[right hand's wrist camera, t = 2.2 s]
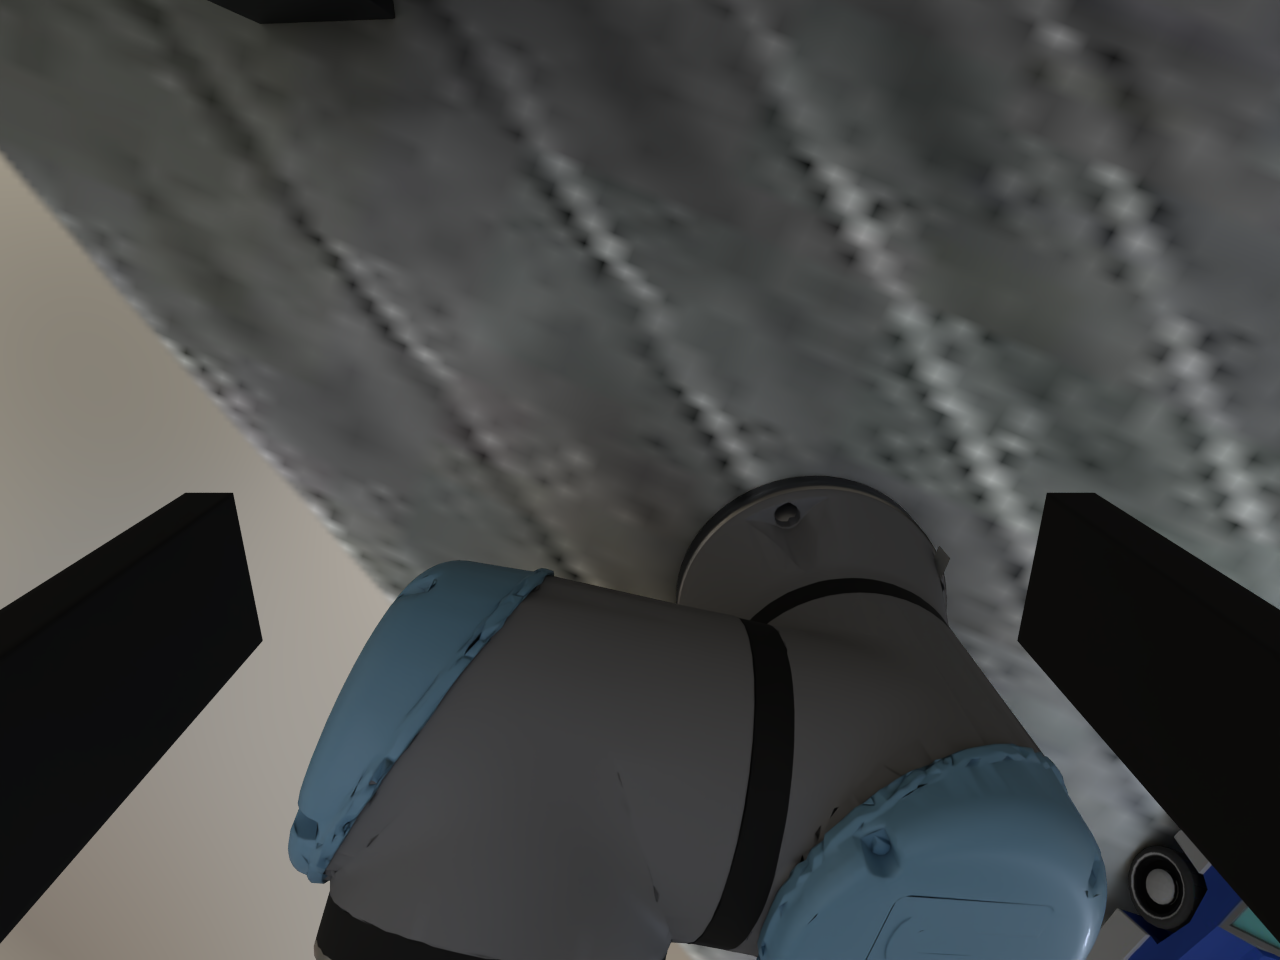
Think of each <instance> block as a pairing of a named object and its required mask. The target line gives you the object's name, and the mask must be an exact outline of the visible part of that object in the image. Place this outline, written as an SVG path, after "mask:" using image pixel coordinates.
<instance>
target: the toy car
mask: <svg viewBox="0 0 1280 960" xmlns="http://www.w3.org/2000/svg"><path fill="white" fill-rule="evenodd" d="M1174 838H1175V839H1176V840H1177V842H1178V843H1179V845H1180V846H1181V848H1182V849H1183V851H1184V852H1185V854H1184V853H1181V852H1178V851H1175V850H1172V849H1169V848H1166V847H1161V846H1152V847H1149V848H1146V849H1144V850H1143V851H1141V852H1140V853H1139V854H1138V855H1137V856H1136V857H1135V859H1134V861H1133V862H1132V864H1131V868H1130V871H1129V891H1130V895H1131V899H1132V902H1133V903H1134V905H1135V907H1136V909H1137V911H1138V912H1139V914H1140V915H1141V916H1140V915H1137V914H1134V913H1131V912H1128V911H1125V910H1122V909H1118V908H1117V909H1116V910H1115V912H1114V913H1113V914H1112V915H1111V917H1110V918H1109V919H1108V920H1107V922H1106V923H1105V924H1104V925H1103V927H1102V928H1101V929H1100V932H1099V934H1098V937H1097V939H1096V941H1095V943H1094V945H1093V947H1092V949H1091V951H1090V953H1089V955H1088V956H1087V958H1086V960H1280V943H1279V942H1278V941H1277V940H1276V938H1275V937H1274V936H1273V935H1272V934H1271V933H1270V932H1269V930H1268V929H1267V928H1266V927H1265V926H1264V925H1263V924H1262V922H1261V921H1260V920H1259V919H1258V918H1257V917H1256V915H1255V914H1254V913H1253V912H1252V911H1251V910H1250V909H1249V907H1248V906H1247V905H1246V904H1245V903H1244V902H1243V900H1242V899H1241V898H1240V897H1239V896H1238V895H1237V894H1236V892H1235V891H1234V890H1233V889H1232V888H1231V887H1230V885H1229V884H1228V883H1227V882H1226V881H1225V880H1224V879H1223V877H1222V876H1221V875H1220V874H1219V873H1218V872H1217V870H1216V869H1215V868H1214V867H1213V866H1212V865H1211V864H1210V862H1209V861H1208V860H1207V859H1206V858H1205V857H1204V855H1203V854H1202V853H1201V852H1200V851H1199V850H1198V849H1197V847H1196V846H1195V845H1194V844H1193V843H1192V842H1191V840H1190V839H1189V838H1188V837H1187V836H1186V835H1185V834H1184V832H1183V831H1182V830H1181V829H1180V831H1179V832H1178V833H1177V834H1176V835H1175V836H1174Z"/></svg>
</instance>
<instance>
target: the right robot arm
mask: <svg viewBox="0 0 1280 960" xmlns="http://www.w3.org/2000/svg"><path fill="white" fill-rule="evenodd" d="M949 559H950V558H949V557H948V556H947V554H946V553H945V552H944V551H943V550H942V548H941V547H940V546H939V547H938V550H937V552H936V551H935V549H934V547H933V545H932V543H931V542H930V540H929V539H928V537H927V536H926V534H925V533H924V532H923V531H922V530H921V528H920V527H919V526H918V525H917V524H916V522H915V521H914V520H913V519H912V518H911V517H910V515H909V514H908V513H907V512H906V511H905V510H904V509H903V508H902V507H901V506H899V505H898V504H897V503H896V502H894V501H893V500H892V499H890V498H889V497H887V496H886V495H884V494H882V493H881V492H879V491H877V490H875V489H873V488H871V487H868V486H866V485H863V484H860V483H857V482H854V481H850V480H846V479H842V478H835V477H826V476H805V477H796V478H788V479H784V480H780V481H775V482H772V483H769V484H766V485H763V486H761V487H758V488H756V489H754V490H751V491H749V492H747V493H745V494H743V495H742V496H740V497H738V498H736V499H735V500H733V501H732V502H730V503H729V504H727V505H726V506H725V507H724V508H722V509H721V510H720V511H719V512H717V513H716V514H715V515H714V516H713V517H712V518H711V519H710V520H709V521H708V522H707V523H706V525H705V526H704V527H703V528H702V529H701V530H700V532H699V533H698V535H697V536H696V537H695V539H694V540H693V542H692V544H691V545H690V547H689V549H688V551H687V553H686V555H685V558H684V560H683V562H682V565H681V569H680V572H679V576H678V582H677V589H676V604H675V603H670V602H665V601H661V600H656V599H652V598H647V597H643V596H638V595H634V594H630V593H625V592H621V591H616V590H612V589H607V588H603V587H599V586H594V585H590V584H585V583H581V582H576V581H572V580H568V579H563V578H559V577H554V572H553V571H551V570H548V569H544V568H541V569H538V570H536V571H534V572H532V571H526V570H520V569H514V568H508V567H502V566H496V565H490V564H484V563H477V562H471V561H461V560H457V561H449V562H444V563H441V564H438V565H436V566H434V567H432V568H430V569H428V570H426V571H425V572H423V573H422V574H420V575H419V576H418V577H416V578H415V579H414V580H413V581H412V582H411V583H410V584H409V585H408V586H407V587H406V588H405V589H404V590H403V591H402V592H401V594H400V595H399V596H398V597H397V599H396V600H395V601H394V603H393V604H392V605H391V606H390V608H389V609H388V610H387V612H386V613H385V615H384V616H383V618H382V619H381V621H380V622H379V624H378V625H377V627H376V628H375V630H374V631H373V633H372V635H371V636H370V638H369V639H368V641H367V643H366V644H365V646H364V648H363V650H362V652H361V653H360V655H359V657H358V659H357V661H356V662H355V664H354V666H353V668H352V670H351V672H350V674H349V676H348V678H347V680H346V682H345V684H344V685H343V688H342V690H341V692H340V694H339V696H338V698H337V700H336V702H335V704H334V707H333V709H332V711H331V713H330V715H329V718H328V720H327V722H326V724H325V727H324V729H323V732H322V734H321V736H320V739H319V741H318V744H317V746H316V749H315V751H314V753H313V756H312V758H311V761H310V764H309V766H308V769H307V772H306V775H305V778H304V781H303V784H302V787H301V790H300V794H299V800H298V806H299V810H298V813H297V815H296V818H295V820H294V823H293V825H292V828H291V831H290V837H289V844H288V852H289V858H290V861H291V863H292V865H293V866H294V867H295V868H296V869H297V871H299V872H301V873H303V874H306V875H307V877H308V879H309V880H310V882H311V883H322V884H324V883H326V882H327V881H330V892H329V896H328V899H327V903H326V906H325V909H324V913H323V916H322V920H321V923H320V926H319V930H318V933H317V937H316V941H315V944H314V956H315V958H316V960H665V959H666V954H667V950H668V948H669V946H670V943H671V942H674V943H687V944H696V945H702V946H707V947H712V948H718V949H723V950H727V951H732V952H738V953H744V954H748V955H753V956H756V957H757V960H1086V958H1087V956H1088V955H1089V953H1090V951H1091V949H1092V947H1093V945H1094V943H1095V941H1096V939H1097V937H1098V934H1099V932H1100V928H1101V925H1102V921H1103V918H1104V914H1105V909H1106V901H1107V881H1106V872H1105V866H1104V862H1103V860H1102V857H1101V852H1100V849H1099V847H1098V845H1097V843H1096V841H1095V839H1094V837H1093V835H1092V833H1091V831H1090V830H1089V828H1088V827H1087V825H1086V823H1085V822H1084V820H1083V818H1082V817H1081V815H1080V814H1079V812H1078V810H1077V809H1076V807H1075V805H1074V804H1073V802H1072V801H1071V799H1070V797H1069V796H1068V792H1067V789H1066V787H1065V785H1064V780H1063V776H1062V774H1061V773H1060V771H1059V770H1058V768H1057V767H1056V766H1055V764H1054V763H1053V762H1052V761H1051V760H1050V759H1049V758H1048V757H1046V756H1044V755H1043V753H1042V752H1041V751H1040V749H1039V748H1038V747H1037V745H1036V744H1035V743H1034V741H1033V740H1032V738H1031V737H1030V736H1029V734H1028V733H1027V732H1026V730H1025V729H1024V728H1023V726H1022V725H1021V724H1020V722H1019V721H1018V720H1017V718H1016V717H1015V715H1014V714H1013V713H1012V711H1011V710H1010V709H1009V707H1008V706H1007V705H1006V703H1005V702H1004V701H1003V699H1002V698H1001V697H1000V695H999V694H998V693H997V691H996V690H995V688H994V687H993V686H992V684H991V683H990V682H989V680H988V679H987V678H986V676H985V675H984V674H983V672H982V671H981V670H980V668H979V667H978V666H977V664H976V663H975V661H974V660H973V659H972V657H971V656H970V655H969V653H968V652H967V651H966V649H965V648H964V647H963V645H962V644H961V643H960V641H959V640H958V638H957V637H956V636H955V634H954V633H953V632H952V630H951V629H950V628H949V625H948V620H947V614H946V608H947V596H946V584H945V577H944V571H945V569H946V566H947V564H948V562H949ZM1017 641H1018V642H1019V643H1020V644H1021V646H1022V647H1023V648H1024V649H1025V650H1026V651H1027V652H1028V654H1029V655H1030V656H1031V657H1032V658H1033V659H1034V661H1035V662H1036V663H1037V664H1038V665H1039V666H1040V667H1041V669H1042V670H1043V671H1044V672H1045V673H1046V674H1047V676H1048V677H1049V678H1050V679H1051V680H1052V681H1053V682H1054V684H1055V685H1056V686H1057V687H1058V688H1059V689H1060V691H1061V692H1062V693H1063V694H1064V695H1065V696H1066V697H1067V699H1068V700H1069V701H1070V702H1071V703H1072V704H1073V706H1074V707H1075V708H1076V709H1077V710H1078V711H1079V712H1080V714H1081V715H1082V716H1083V717H1084V718H1085V719H1086V721H1087V722H1088V723H1089V724H1090V725H1091V726H1092V727H1093V729H1094V730H1095V731H1096V732H1097V733H1098V734H1099V736H1100V737H1101V738H1102V739H1103V740H1104V741H1105V742H1106V744H1107V745H1108V746H1109V747H1110V748H1111V749H1112V750H1113V752H1114V753H1115V754H1116V755H1117V756H1118V757H1119V759H1120V760H1121V761H1122V762H1123V763H1124V764H1125V765H1126V767H1127V768H1128V769H1129V770H1130V771H1131V772H1132V774H1133V775H1134V776H1135V777H1136V778H1137V779H1138V780H1139V782H1140V783H1141V784H1142V785H1143V786H1144V787H1145V789H1146V790H1147V791H1148V792H1149V793H1150V794H1151V795H1152V797H1153V798H1154V799H1155V800H1156V801H1157V802H1158V804H1159V805H1160V806H1161V807H1162V808H1163V809H1164V810H1165V812H1166V813H1167V814H1168V815H1169V816H1170V817H1171V819H1172V820H1173V821H1174V822H1175V823H1176V824H1177V825H1178V827H1179V828H1180V829H1181V830H1182V831H1183V832H1184V834H1185V835H1186V836H1187V837H1188V838H1189V839H1190V840H1191V842H1192V843H1193V844H1194V845H1195V846H1196V847H1197V849H1198V850H1199V851H1200V852H1201V853H1202V854H1203V855H1204V857H1205V858H1206V859H1207V860H1208V861H1209V862H1210V864H1211V865H1212V866H1213V867H1214V868H1215V869H1216V870H1217V872H1218V873H1219V874H1220V875H1221V876H1222V877H1223V879H1224V880H1225V881H1226V882H1227V883H1228V884H1229V885H1230V887H1231V888H1232V889H1233V890H1234V891H1235V892H1236V894H1237V895H1238V896H1239V897H1240V898H1241V899H1242V900H1243V902H1244V903H1245V904H1246V905H1247V906H1248V907H1249V909H1250V910H1251V911H1252V912H1253V913H1254V914H1255V915H1256V917H1257V918H1258V919H1259V920H1260V921H1261V922H1262V924H1263V925H1264V926H1265V927H1266V928H1267V929H1268V930H1269V932H1270V933H1271V934H1272V935H1273V936H1274V937H1275V938H1276V940H1277V941H1278V942H1279V943H1280V610H1279V609H1277V608H1276V607H1274V606H1273V605H1271V604H1270V603H1268V602H1266V601H1265V600H1263V599H1262V598H1260V597H1258V596H1257V595H1255V594H1254V593H1252V592H1251V591H1249V590H1247V589H1246V588H1244V587H1243V586H1241V585H1239V584H1238V583H1236V582H1235V581H1233V580H1232V579H1230V578H1228V577H1227V576H1225V575H1224V574H1222V573H1221V572H1219V571H1217V570H1216V569H1214V568H1213V567H1211V566H1209V565H1208V564H1206V563H1205V562H1203V561H1202V560H1200V559H1198V558H1197V557H1195V556H1194V555H1192V554H1190V553H1189V552H1187V551H1186V550H1184V549H1183V548H1181V547H1179V546H1178V545H1176V544H1175V543H1173V542H1171V541H1170V540H1168V539H1167V538H1165V537H1164V536H1162V535H1160V534H1159V533H1157V532H1156V531H1154V530H1152V529H1151V528H1149V527H1148V526H1146V525H1145V524H1143V523H1141V522H1140V521H1138V520H1137V519H1135V518H1134V517H1132V516H1130V515H1129V514H1127V513H1126V512H1124V511H1122V510H1121V509H1119V508H1118V507H1116V506H1115V505H1113V504H1111V503H1110V502H1108V501H1107V500H1105V499H1103V498H1102V497H1100V496H1099V495H1097V494H1096V493H1047V495H1046V500H1045V505H1044V510H1043V515H1042V520H1041V525H1040V530H1039V535H1038V540H1037V545H1036V550H1035V555H1034V560H1033V565H1032V570H1031V575H1030V580H1029V585H1028V590H1027V595H1026V600H1025V605H1024V610H1023V615H1022V620H1021V625H1020V630H1019V635H1018V640H1017ZM261 642H262V635H261V630H260V625H259V620H258V615H257V610H256V605H255V600H254V595H253V590H252V585H251V581H250V575H249V570H248V565H247V560H246V555H245V550H244V545H243V540H242V536H241V530H240V525H239V520H238V516H237V510H236V505H235V500H234V495H233V493H184V494H183V495H181V496H180V497H178V498H177V499H175V500H173V501H172V502H170V503H169V504H167V505H165V506H164V507H162V508H161V509H159V510H158V511H156V512H154V513H153V514H151V515H150V516H148V517H146V518H145V519H143V520H142V521H140V522H139V523H137V524H135V525H134V526H132V527H131V528H129V529H128V530H126V531H124V532H123V533H121V534H120V535H118V536H116V537H115V538H113V539H112V540H110V541H109V542H107V543H105V544H104V545H102V546H101V547H99V548H98V549H96V550H94V551H93V552H91V553H90V554H88V555H86V556H85V557H83V558H82V559H80V560H78V561H77V562H75V563H74V564H72V565H71V566H69V567H67V568H66V569H64V570H63V571H61V572H60V573H58V574H56V575H55V576H53V577H52V578H50V579H48V580H47V581H45V582H44V583H42V584H41V585H39V586H37V587H36V588H34V589H33V590H31V591H30V592H28V593H26V594H25V595H23V596H22V597H20V598H18V599H17V600H15V601H14V602H12V603H10V604H9V605H7V606H6V607H4V608H3V609H1V610H0V943H1V942H2V941H3V940H4V938H5V937H6V936H7V935H8V934H9V933H10V932H11V930H12V929H13V928H14V927H15V926H16V925H17V924H18V922H19V921H20V920H21V919H22V918H23V916H24V915H25V914H26V913H27V912H28V911H29V910H30V908H31V907H32V906H33V905H34V904H35V903H36V902H37V900H38V899H39V898H40V897H41V896H42V895H43V893H44V892H45V891H46V890H47V889H48V888H49V887H50V885H51V884H52V883H53V882H54V881H55V880H56V879H57V877H58V876H59V875H60V874H61V873H62V872H63V870H64V869H65V868H66V867H67V866H68V865H69V864H70V862H71V861H72V860H73V859H74V858H75V857H76V855H77V854H78V853H79V852H80V851H81V850H82V849H83V847H84V846H85V845H86V844H87V843H88V842H89V840H90V839H91V838H92V837H93V836H94V835H95V834H96V832H97V831H98V830H99V829H100V828H101V827H102V825H103V824H104V823H105V822H106V821H107V820H108V819H109V817H110V816H111V815H112V814H113V813H114V812H115V810H116V809H117V808H118V807H119V806H120V805H121V803H122V802H123V801H124V800H125V799H126V798H127V797H128V795H129V794H130V793H131V792H132V791H133V790H134V789H135V787H136V786H137V785H138V784H139V783H140V782H141V780H142V779H143V778H144V777H145V776H146V775H147V774H148V772H149V771H150V770H151V769H152V768H153V767H154V765H155V764H156V763H157V762H158V761H159V760H160V759H161V757H162V756H163V755H164V754H165V753H166V752H167V750H168V749H169V748H170V747H171V746H172V745H173V744H174V742H175V741H176V740H177V739H178V738H179V737H180V735H181V734H182V733H183V732H184V731H185V730H186V729H187V727H188V726H189V725H190V724H191V723H192V722H193V720H194V719H195V718H196V717H197V716H198V715H199V714H200V712H201V711H202V710H203V709H204V708H205V707H206V706H207V704H208V703H209V702H210V701H211V700H212V699H213V697H214V696H215V695H216V694H217V693H218V692H219V690H220V689H221V688H222V687H223V686H224V685H225V684H226V682H227V681H228V680H229V679H230V678H231V677H232V676H233V674H234V673H235V672H236V671H237V670H238V669H239V667H240V666H241V665H242V664H243V663H244V662H245V661H246V659H247V658H248V657H249V656H250V655H251V654H252V652H253V651H254V650H255V649H256V648H257V647H258V646H259V644H260V643H261Z"/></svg>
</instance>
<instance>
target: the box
mask: <svg viewBox="0 0 1280 960" xmlns="http://www.w3.org/2000/svg"><path fill="white" fill-rule="evenodd" d="M208 1H210V2H212V3H215V4H217V5H219V6H221V7H224V8H226V9H228V10H230V11H233V12H235V13H237V14H239V15H242V16H244V17H246V18H248V19H250V20H253V21H255V22H257V23H259V24H269V23H293V22H318V21H343V20H368V19H392V18H395V13H394V6H393V0H208Z"/></svg>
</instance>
